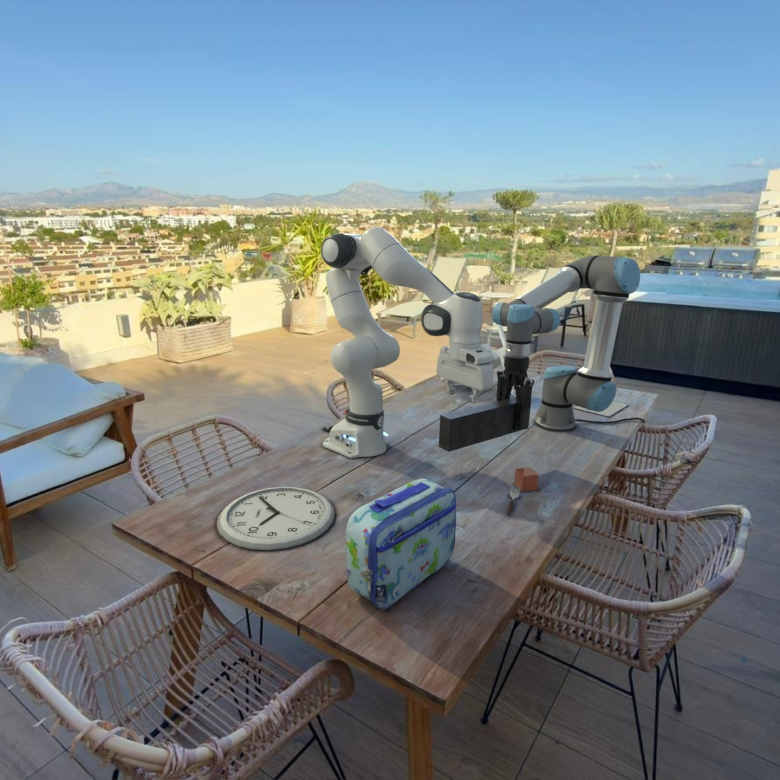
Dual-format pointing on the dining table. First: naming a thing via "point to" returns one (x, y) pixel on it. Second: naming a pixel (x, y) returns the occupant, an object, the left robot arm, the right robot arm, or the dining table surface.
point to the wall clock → (275, 518)
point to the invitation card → (609, 411)
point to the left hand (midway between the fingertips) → (462, 398)
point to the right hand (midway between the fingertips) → (510, 426)
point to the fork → (513, 495)
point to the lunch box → (400, 540)
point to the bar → (479, 424)
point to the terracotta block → (526, 479)
